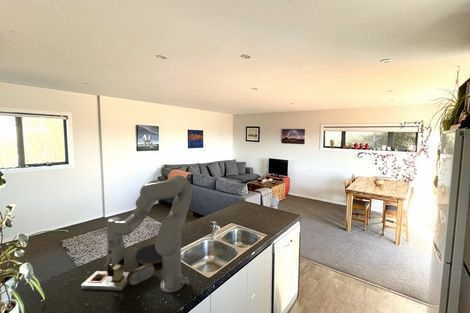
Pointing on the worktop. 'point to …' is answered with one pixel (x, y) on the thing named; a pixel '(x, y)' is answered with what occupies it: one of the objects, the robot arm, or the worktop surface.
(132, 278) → the tin
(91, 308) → the worktop surface
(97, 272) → the rail plate
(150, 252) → the bowl
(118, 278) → the brass peg
